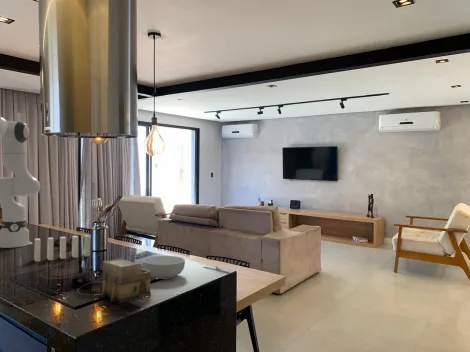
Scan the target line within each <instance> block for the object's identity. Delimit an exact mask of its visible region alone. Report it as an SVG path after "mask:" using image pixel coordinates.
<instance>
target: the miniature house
mask: <svg viewBox="0 0 470 352" xmlns="http://www.w3.org/2000/svg"><path fill="white" fill-rule="evenodd" d="M100 278H101V279H102V290H101V294H100V298H101V297H104V298H108V297H109V302H110V303H114V302H118V303H120V304H121V303H126V302H129V301H132V300H131V299H133V300H136V299H140V298H141V300H143V299H144V298H143V297H146V296H151V297H152V295H151V294H152V293H151V278H153V277H152V276H151V271H148V270H144V269H143V266H142V263H141V262H138V263H137V262H133V261H130V260H127V259H124V258H123V257H121V258H115V259H110V260H103V261H102V275H101V276H100ZM105 296H107V297H105ZM138 297H139V298H138ZM110 298H111V299H110ZM135 298H136V299H135Z"/></svg>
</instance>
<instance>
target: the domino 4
mask: <svg viewBox="0 0 470 352" xmlns="http://www.w3.org/2000/svg"><path fill="white" fill-rule="evenodd" d="M71 238H72V242H71V243H72V250H71V257H72V258H76V259H77V258H79V236H77V235H72V236H71Z"/></svg>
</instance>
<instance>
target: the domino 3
mask: <svg viewBox="0 0 470 352" xmlns="http://www.w3.org/2000/svg"><path fill="white" fill-rule="evenodd" d="M59 238H60V249H59V258H60V259H61V260H63V259H64V260H65V259H66V258H67V251H66V238H67V236H59Z"/></svg>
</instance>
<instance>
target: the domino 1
mask: <svg viewBox="0 0 470 352" xmlns="http://www.w3.org/2000/svg"><path fill="white" fill-rule="evenodd" d="M41 243H42V242H41V238H40V237H39V238H34V256H33V257H34V258H33V259H34V262H41Z"/></svg>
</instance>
